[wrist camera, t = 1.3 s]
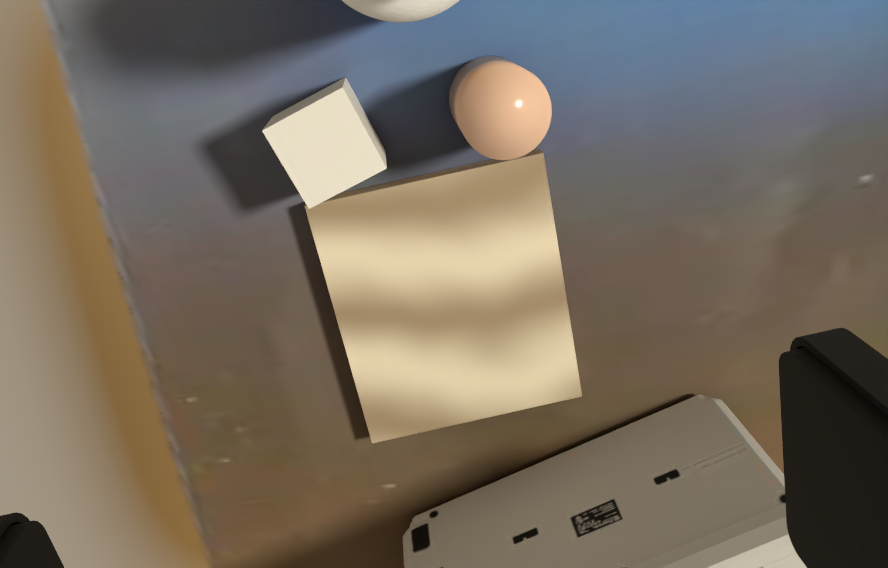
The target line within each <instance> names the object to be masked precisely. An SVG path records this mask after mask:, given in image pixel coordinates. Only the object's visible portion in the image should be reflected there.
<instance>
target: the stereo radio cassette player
mask: <svg viewBox="0 0 888 568" xmlns="http://www.w3.org/2000/svg"><path fill="white" fill-rule="evenodd" d="M403 554H404V568H807V567H806V566H805V564H804V563H803V562H802V560H801V559H800V558H799V556H798V554H797V553H796V551H795V549H794V547H793V545H792V543H791V540H790V537H789V534H788V530H787V523H786V502H785V481H784V474H783V473H782V472H781V471H780V469H779V468H778V467H777V466H776V465H775V463H774V462H773V461H772V460H771V459H770V457H769V456H768V455H767V454H766V453H765V451H764V450H763V449H762V448H761V447H760V445H759V444H758V443H757V442H756V440H755V439H754V438H753V437H752V436H751V434H750V433H749V432H748V431H747V430H746V428H745V427H744V426H743V425H742V424H741V422H740V421H739V420H738V419H737V418H736V416H735V415H734V414H733V413H732V412H731V410H730V409H729V408H728V407H727V406H726V404H725V403H724V402H723V401H722V400H721V399H715V398H709V397H707V396H706V397H704V396H703V395H696V396H694V397H692V398H689V399H687V400H685V401H682V402H680V403H678V404H675V405H673V406H671V407H668V408H666V409H664V410H661V411H659V412H657V413H654V414H652V415H650V416H647V417H645V418H643V419H640V420H638V421H636V422H633V423H631V424H629V425H626V426H624V427H622V428H619V429H617V430H615V431H612V432H610V433H608V434H605V435H603V436H601V437H598V438H596V439H594V440H591V441H589V442H587V443H584V444H582V445H580V446H577V447H575V448H573V449H570V450H568V451H566V452H563V453H561V454H559V455H556V456H554V457H552V458H549V459H547V460H545V461H542V462H540V463H538V464H535V465H533V466H531V467H528V468H526V469H524V470H521V471H519V472H517V473H514V474H512V475H510V476H507V477H505V478H503V479H500V480H498V481H496V482H493V483H491V484H489V485H486V486H484V487H482V488H479V489H477V490H475V491H472V492H470V493H468V494H465V495H463V496H461V497H458V498H456V499H454V500H451V501H449V502H447V503H444V504H442V505H440V506H437V507H435V508H433V509H430V510H428V511H426V512H423V513H421V514H419V515H416V516H415V517H414V518H413V519H412V522H411V523H410V527H409V529H408V530H407V531H406V532H405V534H404V536H403Z"/></svg>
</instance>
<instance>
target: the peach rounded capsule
mask: <svg viewBox="0 0 888 568" xmlns="http://www.w3.org/2000/svg"><path fill="white" fill-rule="evenodd" d="M449 106H450V110H451V113H452V116H453V118H454V120H455V121H456V123H457V125H458V126H459V128H460V130H461V131H462V133H463V135H464V137H465V138H466V140H467V142H468V143H469V144H470V145H471V146H472V147H473V148H474V149H475V150H476V151H477V152H479V153H480V154H482V155H484V156H486V157H488V158H491V159H495V160H511V159H516V158H519V157H521V156H524V155H526V154H527V153H529V152H531V151H532V150H533V149H534V148H536V147H537V146H538V145H539V143H540V142H541V141H542V140H543V138H544V136H545V135H546V133H547V131H548V128H549V125H550V121H551V113H552V109H551V101H550V97H549V94H548V92H547V90H546V88H545V86H544V85H543V84H542V82H541V81H540V80H539V79H538V78H537V77H536V76H535V75H533V74H532V73H530V72H529V71H527V70H525V69H524V68H522V67H520V66H518V65H517V64H515V63H513V62H511V61H510V60H508V59H505V58H503V57H499V56H482V57H479V58H476V59H474V60H472V61H470V62H468V63H467V64H466V65H464V66H463V67H462V68H461V69H460V70H459V71H458V73H457V74H456V76H455V77H454V79H453V81H452V84H451V87H450V91H449Z"/></svg>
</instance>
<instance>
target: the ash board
mask: <svg viewBox="0 0 888 568" xmlns="http://www.w3.org/2000/svg"><path fill="white" fill-rule="evenodd" d="M305 209H306V213H307V216H308V220H309V223H310V227H311V230H312V234H313V238H314V241H315V245H316V248H317V252H318V255H319V259H320V262H321V266H322V269H323V273H324V276H325V280H326V283H327V287H328V290H329V294H330V297H331V301H332V304H333V308H334V311H335V315H336V318H337V322H338V325H339V329H340V332H341V336H342V339H343V343H344V346H345V350H346V353H347V357H348V360H349V364H350V367H351V371H352V374H353V378H354V381H355V385H356V389H357V392H358V396H359V399H360V403H361V406H362V410H363V413H364V417H365V420H366V424H367V427H368V431H369V434H370V438H371V441H372V443H376V442H380V441H385V440H389V439H394V438H398V437H403V436H407V435H411V434H416V433H420V432H425V431H429V430H434V429H438V428H443V427H447V426H452V425H456V424H461V423H465V422H470V421H474V420H478V419H483V418H487V417H492V416H496V415H501V414H505V413H510V412H514V411H519V410H523V409H528V408H532V407H536V406H541V405H545V404H550V403H554V402H559V401H563V400H568V399H572V398H577V397H581V396H582V393H581V386H580V380H579V374H578V367H577V361H576V355H575V349H574V342H573V336H572V330H571V324H570V317H569V311H568V305H567V298H566V292H565V286H564V280H563V273H562V267H561V261H560V255H559V248H558V242H557V236H556V230H555V223H554V217H553V211H552V204H551V198H550V192H549V186H548V179H547V173H546V167H545V161H544V154H543V152H542V151H541V150H540V149H537V150H532V151H531V152H529V153H527V154H526V155H524V156H521V157H519V158H516V159H511V160H495V159H492V160H488V161H483V162H479V163H474V164H470V165H465V166H461V167H456V168H452V169H447V170H443V171H438V172H434V173H429V174H425V175H420V176H416V177H411V178H407V179H403V180H398V181H394V182H389V183H385V184H380V185H376V186H371V187H367V188H362V189H358V190H353V191H349V192H344V193H340V194H337V195H335V196H333V197H331V198H329V199H327V200H325V201H323V202H322V203H320V204H318V205H316V206H314V207H312V208H310V209H309V208H308V207H307V205H306V204H305Z"/></svg>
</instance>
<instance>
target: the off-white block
mask: <svg viewBox="0 0 888 568" xmlns="http://www.w3.org/2000/svg"><path fill="white" fill-rule="evenodd" d="M262 132H263V133H264V135H265V137H266V138H267V140H268V142H269V143H270V145H271V147H272V148H273V150H274V152H275V153H276V155H277V157H278V158H279V160H280V162H281V163H282V165H283V167H284V168H285V170H286V172H287V173H288V175H289V177H290V178H291V180H292V182H293V183H294V185H295V187H296V188H297V190H298V192H299V193H300V195H301V197H302V198H303V200H304V202H305V203H306V205H307V207H308V208H309V209H310V208H312V207H314V206H316V205H318V204H320V203H322V202H323V201H325V200H327V199H329V198H331V197H333V196H335V195H337V194H339V193H341V192H343V191H345V190H346V189H348V188H350V187H352V186H354V185H356V184H358V183H360V182H362V181H364V180H366V179H367V178H369V177H371V176H373V175H375V174H377V173H379V172H381V171H383V170H385V169H387V164H386V151H385V149H384V147H383V145H382V143H381V142H380V140H379V138H378V136H377V134H376V132H375V130H374V129H373V127H372V125H371V123H370V121H369V119H368V118H367V116H366V114H365V112H364V110H363V108H362V106H361V105H360V103H359V101H358V99H357V97H356V95H355V94H354V92H353V90H352V88H351V86H350V84H349V82H348V81H347V79H346V77H345V78H343V79H341V80H339V81H337V82H335V83H333V84H332V85H330V86H328V87H326V88H324V89H322V90H320V91H319V92H317V93H315V94H313V95H311V96H309V97H307V98H306V99H304V100H302V101H300V102H298V103H296V104H294V105H293V106H291V107H289V108H287V109H285V110H283V111H281V112H280V113H278V114H276V115H274V116H273V117H272V118H271V119H270V121H269V122H268V123H267V125H266V126H265V127H264V129H263V130H262Z"/></svg>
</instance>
